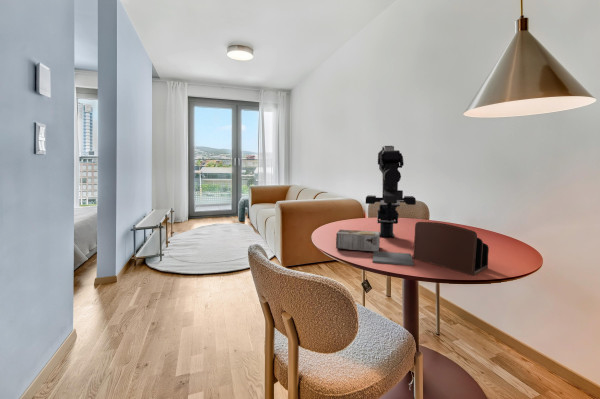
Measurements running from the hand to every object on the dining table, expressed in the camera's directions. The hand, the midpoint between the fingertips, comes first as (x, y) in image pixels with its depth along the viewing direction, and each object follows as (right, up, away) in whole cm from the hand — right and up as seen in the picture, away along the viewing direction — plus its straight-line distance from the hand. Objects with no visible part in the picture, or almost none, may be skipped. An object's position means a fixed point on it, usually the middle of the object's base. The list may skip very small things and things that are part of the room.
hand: (389, 221), depth 113 cm
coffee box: (-5, -7, -5) cm, 10 cm away
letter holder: (+13, -13, -20) cm, 27 cm away
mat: (-4, -12, -15) cm, 19 cm away
